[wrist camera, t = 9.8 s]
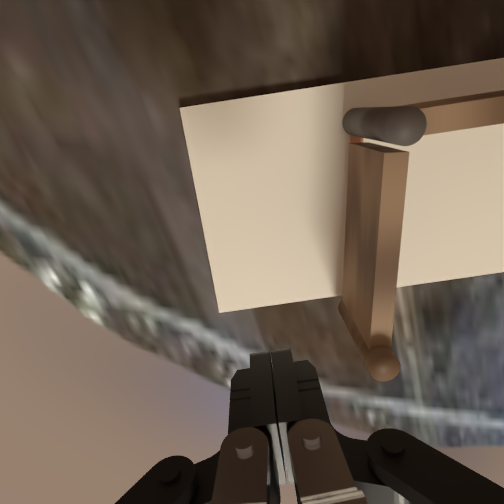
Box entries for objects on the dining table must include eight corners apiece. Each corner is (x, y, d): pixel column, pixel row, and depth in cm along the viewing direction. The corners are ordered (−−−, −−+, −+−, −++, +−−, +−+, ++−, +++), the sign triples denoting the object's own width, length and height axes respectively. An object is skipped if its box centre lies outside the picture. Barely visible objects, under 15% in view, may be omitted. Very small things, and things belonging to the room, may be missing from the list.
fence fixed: (561, 76, 20) (709, 59, 14) (557, 105, 21) (699, 102, 14) (341, 109, 21) (387, 109, 14) (343, 137, 21) (388, 148, 15)
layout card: (583, 45, 20) (590, 44, 20) (555, 265, 24) (561, 268, 24) (180, 107, 21) (179, 107, 20) (220, 313, 25) (220, 317, 24)
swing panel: (345, 143, 20) (386, 155, 15) (372, 142, 20) (423, 153, 15) (337, 317, 24) (368, 382, 18) (361, 316, 24) (399, 380, 18)
